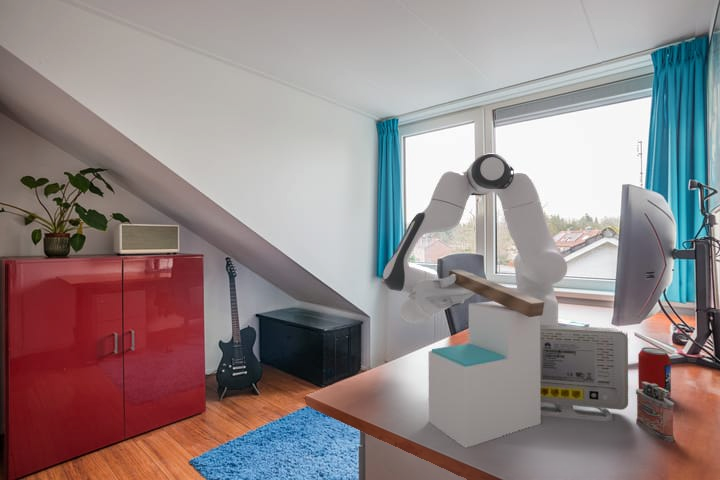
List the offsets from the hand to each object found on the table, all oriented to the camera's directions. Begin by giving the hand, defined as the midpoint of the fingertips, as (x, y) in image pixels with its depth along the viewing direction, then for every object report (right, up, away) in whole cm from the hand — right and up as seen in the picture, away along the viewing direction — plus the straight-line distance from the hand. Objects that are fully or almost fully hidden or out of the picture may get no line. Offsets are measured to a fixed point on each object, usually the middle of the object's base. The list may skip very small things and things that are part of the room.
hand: (464, 276), depth 97 cm
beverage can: (+51, -32, +1) cm, 60 cm away
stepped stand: (+1, -32, -13) cm, 35 cm away
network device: (+23, -32, -7) cm, 40 cm away
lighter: (+36, -32, -17) cm, 51 cm away
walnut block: (+4, -4, -8) cm, 10 cm away
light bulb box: (+51, -32, +40) cm, 73 cm away
